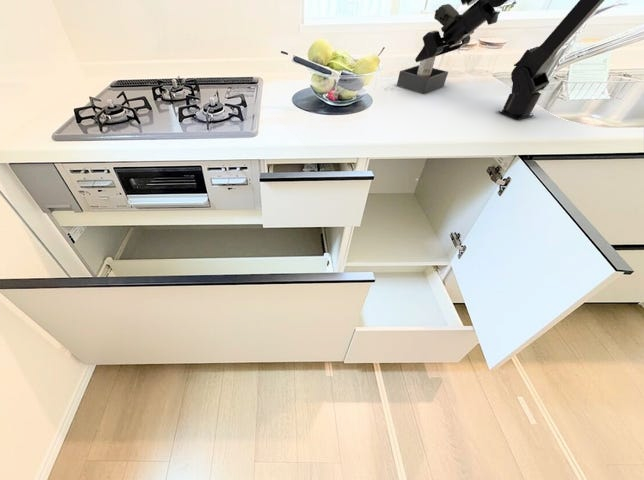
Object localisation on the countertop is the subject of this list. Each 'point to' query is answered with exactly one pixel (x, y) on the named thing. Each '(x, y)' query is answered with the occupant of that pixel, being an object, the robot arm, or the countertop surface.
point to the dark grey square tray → (421, 80)
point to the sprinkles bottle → (426, 67)
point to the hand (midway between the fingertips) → (424, 58)
